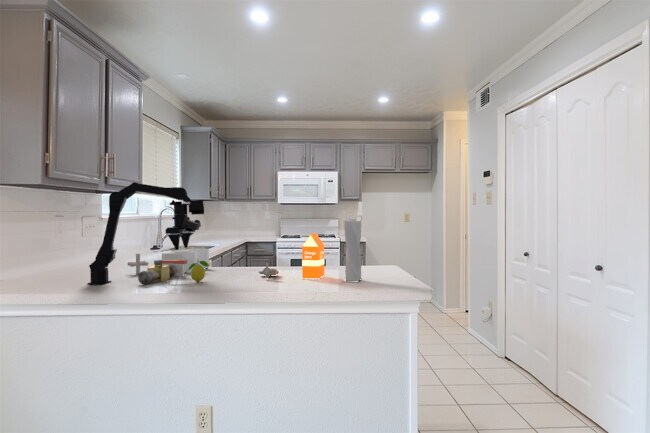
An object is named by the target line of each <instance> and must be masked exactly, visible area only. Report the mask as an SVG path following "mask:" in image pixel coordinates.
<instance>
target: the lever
mask: <svg viewBox="0 0 650 433" xmlns="http://www.w3.org/2000/svg"><path fill="white" fill-rule="evenodd" d="M155 264H187V260H162V259H156V260H153V265H155Z"/></svg>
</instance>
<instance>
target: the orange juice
mask: <svg viewBox="0 0 650 433" xmlns="http://www.w3.org/2000/svg"><path fill="white" fill-rule="evenodd" d="M301 255H302V257H301V258H302V259H301V263H302V264H301V266H302V268H301V269H302V270H301V271H302V275H301V276H302V278H320V277H321V276H323V275H324V276H325V244H324V243H323V241H322V240H321V237H319V235H318V233H310V235H309V236H308V238H307V239H306V240H305V242H304V244H303V245H302V246H301Z"/></svg>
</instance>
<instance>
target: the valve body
mask: <svg viewBox="0 0 650 433" xmlns="http://www.w3.org/2000/svg"><path fill="white" fill-rule="evenodd" d="M176 273H177V269H176V267H175V266H174V265H167V266H163V264H154V265H153V266H149V267H147V270H141V271H140V274H138V277H137V280H138V283H140V284H141V285H142V286H146V285H150V284H152V283H162V282H165V281H169V280H170V278H172V277H176V276H175V275H176Z"/></svg>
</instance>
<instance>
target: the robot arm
mask: <svg viewBox="0 0 650 433" xmlns="http://www.w3.org/2000/svg"><path fill="white" fill-rule="evenodd" d="M136 193H144V194H150V195H151V194H152V195H158V196H163V197H168V198H170V199H172V201H171V202H169V205H170V206H173V217H172V218H171V219H172V220H173V222H174V224H173V226H172V227H171V226H168V227H166V228H165V234H166V236H167V237H168V238H169V240H170V241H171V243H172V245H173V246H174V250H176V251H177V250H178V251H179V248H180V239H181V241H182V244H183V247H184V248H188V246H189V243H190V242H189V241H190V238H191V236H193V234H195V232H196V231H199V230H200V228H201V226H202V224H201V221H200V219H195V220H191V219H190V217H189V216H188V213H190V214H191V215H205V206H204V200H203V199H198V200H194V199H193V200H191V198H190V197H189V196H188V192H187V190H186V189H185V188H184V187H179V186H178V187H175V186H174V187H163V186H158V185H157V186H156V185H151V184H144V183H139V182H132V183H131V184H129V185H128V186H126V187H124V188H121V189H120V190H117V191H114V192H111V193H110V194H109V197H108V198H109V199H108V206H109V207H108V208H109V213H108V218H107V222H106V227H105V231H104V235H103V240H102V242H101V246H100V248H99V249H98V252H97V254H96V256H95V260H94V261H93V262H92V263H90V264H89V266H88V267H89V269H90V271H89V272H90V282H87V284H86V285H104V284H107V283H108V284H109V283H112V280H109V268H108V267H109V264H111V263H112V262H113V261H114V260H115V259H116V253H117V250H118V249H116V248H115V249H114V243H115V239H116V233H117V230H118V225H119V224H118V223H119V220H120V215H121V212H122V210H123V208H124V207H125V205H126V203H127V200H128V199H130V198H131V197H133V196H134V195H135V194H136ZM176 200H177V201H176ZM183 202H184V203H183Z"/></svg>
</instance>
